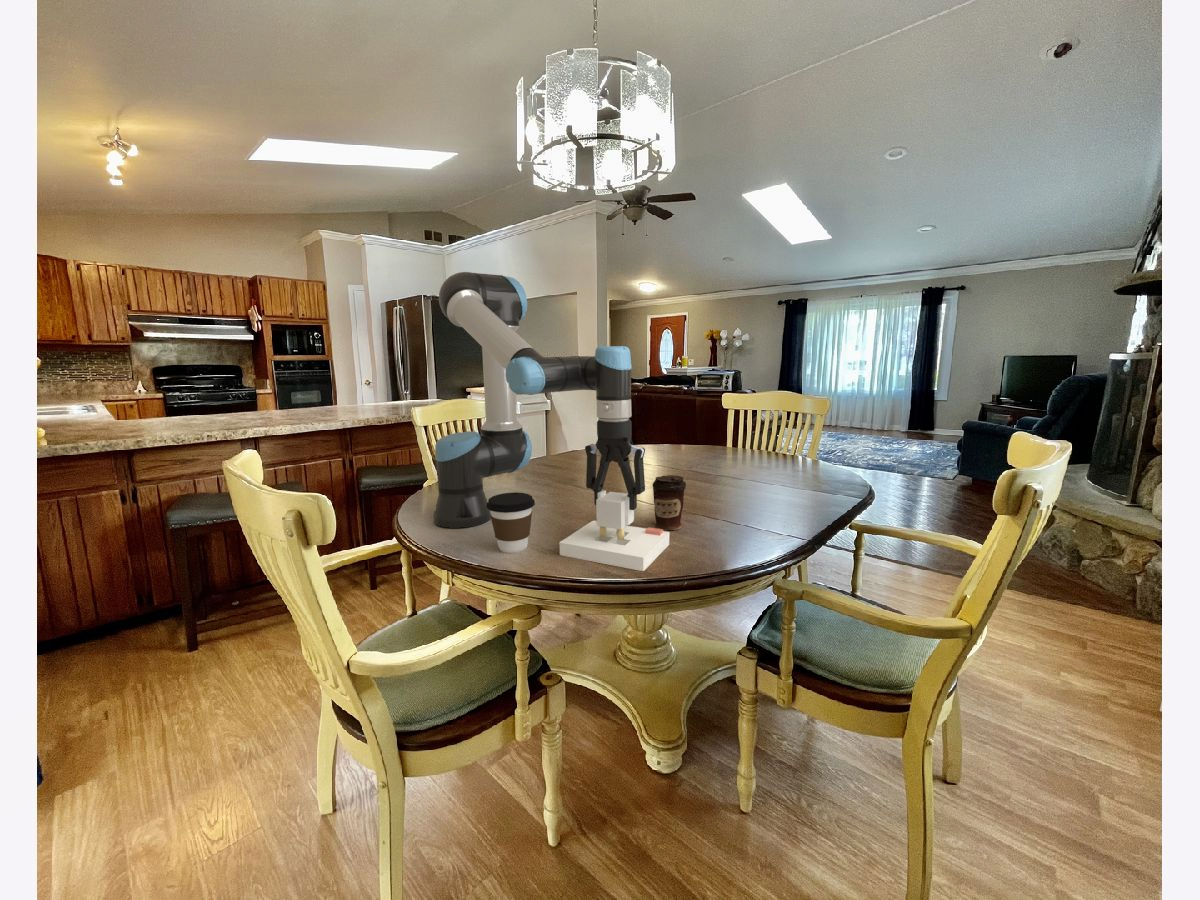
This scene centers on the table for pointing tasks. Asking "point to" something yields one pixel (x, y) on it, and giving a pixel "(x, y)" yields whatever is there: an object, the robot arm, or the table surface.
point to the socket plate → (616, 546)
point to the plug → (611, 513)
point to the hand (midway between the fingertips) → (615, 521)
